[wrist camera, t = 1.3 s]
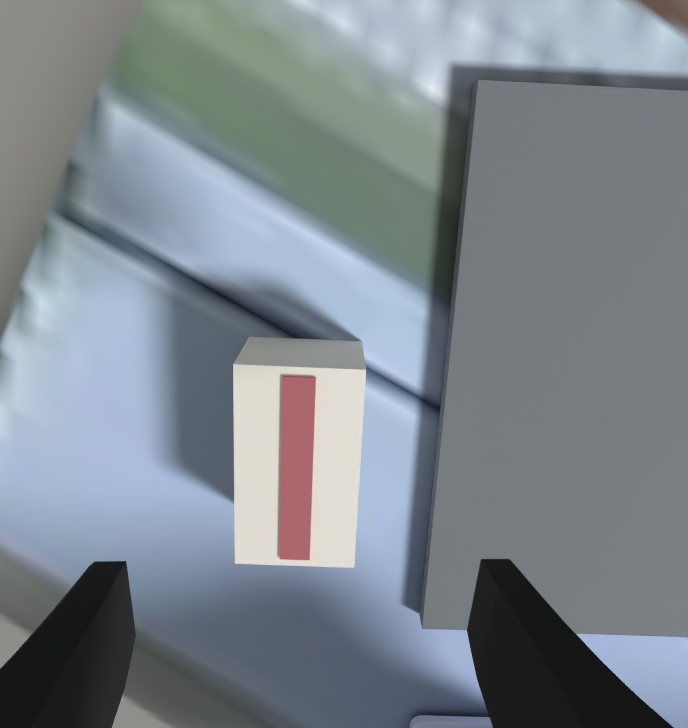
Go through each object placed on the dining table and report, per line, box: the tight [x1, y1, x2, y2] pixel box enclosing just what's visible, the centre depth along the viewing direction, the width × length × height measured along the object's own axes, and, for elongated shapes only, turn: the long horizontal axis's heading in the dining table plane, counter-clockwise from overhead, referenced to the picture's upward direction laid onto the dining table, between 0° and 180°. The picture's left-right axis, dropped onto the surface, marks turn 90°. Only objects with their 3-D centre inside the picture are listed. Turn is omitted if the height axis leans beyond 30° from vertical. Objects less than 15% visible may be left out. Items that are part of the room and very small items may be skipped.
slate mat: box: [420, 80, 688, 637], centre depth 22 cm, size 20×16×1 cm
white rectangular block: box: [233, 337, 366, 568], centre depth 21 cm, size 7×4×4 cm, turn 177°
